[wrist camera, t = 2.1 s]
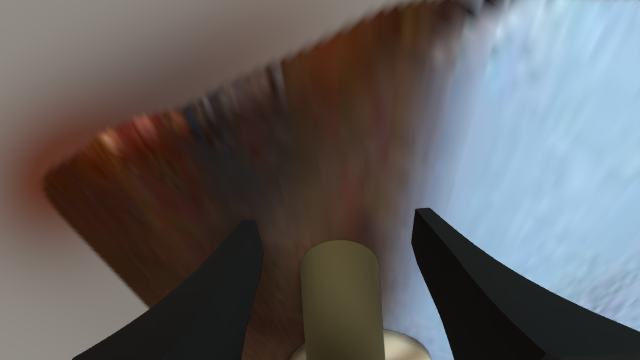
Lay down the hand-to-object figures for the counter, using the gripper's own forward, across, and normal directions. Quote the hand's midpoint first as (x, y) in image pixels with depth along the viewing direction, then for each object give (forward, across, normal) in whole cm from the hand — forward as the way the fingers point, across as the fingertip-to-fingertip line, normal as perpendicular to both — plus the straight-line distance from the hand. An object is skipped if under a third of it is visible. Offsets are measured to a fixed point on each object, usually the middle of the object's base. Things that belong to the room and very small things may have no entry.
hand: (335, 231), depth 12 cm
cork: (+5, 0, +8) cm, 9 cm away
